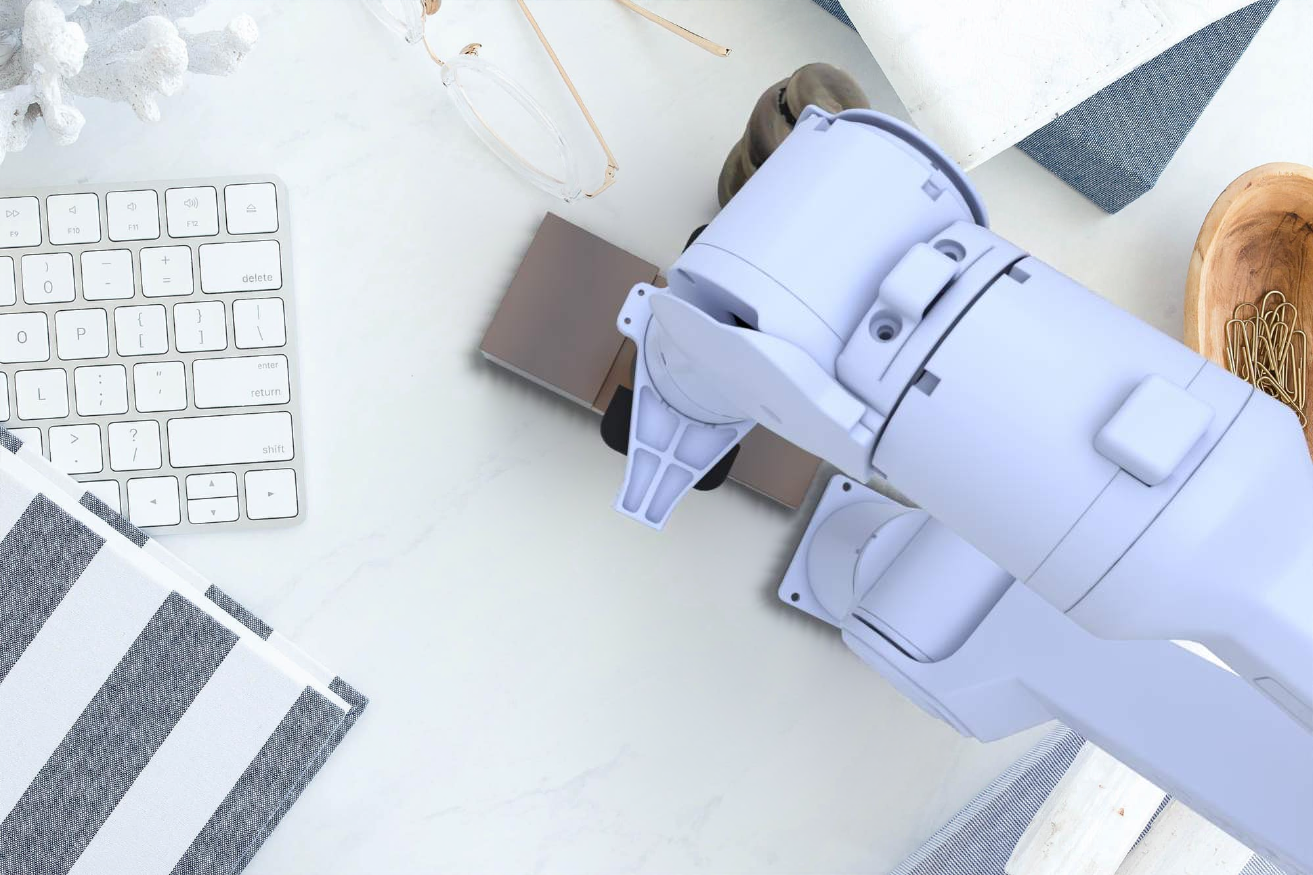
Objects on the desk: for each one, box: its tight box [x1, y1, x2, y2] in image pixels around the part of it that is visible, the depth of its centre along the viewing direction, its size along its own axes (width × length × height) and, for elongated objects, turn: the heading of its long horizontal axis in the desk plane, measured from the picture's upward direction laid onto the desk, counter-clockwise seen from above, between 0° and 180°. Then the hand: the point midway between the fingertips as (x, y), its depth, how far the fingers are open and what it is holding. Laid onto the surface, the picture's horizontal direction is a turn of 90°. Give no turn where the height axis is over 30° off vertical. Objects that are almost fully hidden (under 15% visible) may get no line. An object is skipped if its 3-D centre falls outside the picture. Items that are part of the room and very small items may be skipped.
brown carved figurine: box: [717, 61, 872, 211], centre depth 46 cm, size 6×6×15 cm
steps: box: [478, 211, 823, 510], centre depth 50 cm, size 20×8×4 cm, turn 64°
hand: (685, 371), depth 44 cm, fingers closed on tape, 5 cm apart
